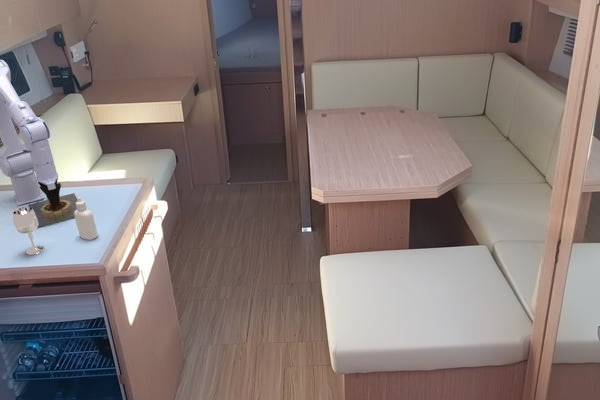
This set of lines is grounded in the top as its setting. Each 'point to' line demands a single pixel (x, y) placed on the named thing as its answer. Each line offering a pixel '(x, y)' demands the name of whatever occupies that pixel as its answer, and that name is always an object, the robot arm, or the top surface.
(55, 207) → the round knob
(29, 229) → the wineglass
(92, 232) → the eye dropper bottle
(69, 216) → the collar plate
